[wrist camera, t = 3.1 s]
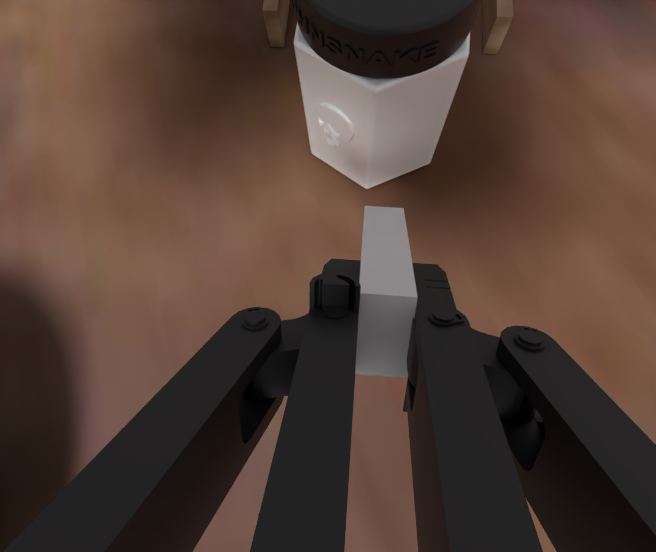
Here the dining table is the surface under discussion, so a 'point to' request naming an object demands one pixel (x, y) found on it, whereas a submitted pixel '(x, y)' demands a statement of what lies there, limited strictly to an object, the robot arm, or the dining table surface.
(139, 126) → the dining table surface
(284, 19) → the box
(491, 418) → the robot arm
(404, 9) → the jar
